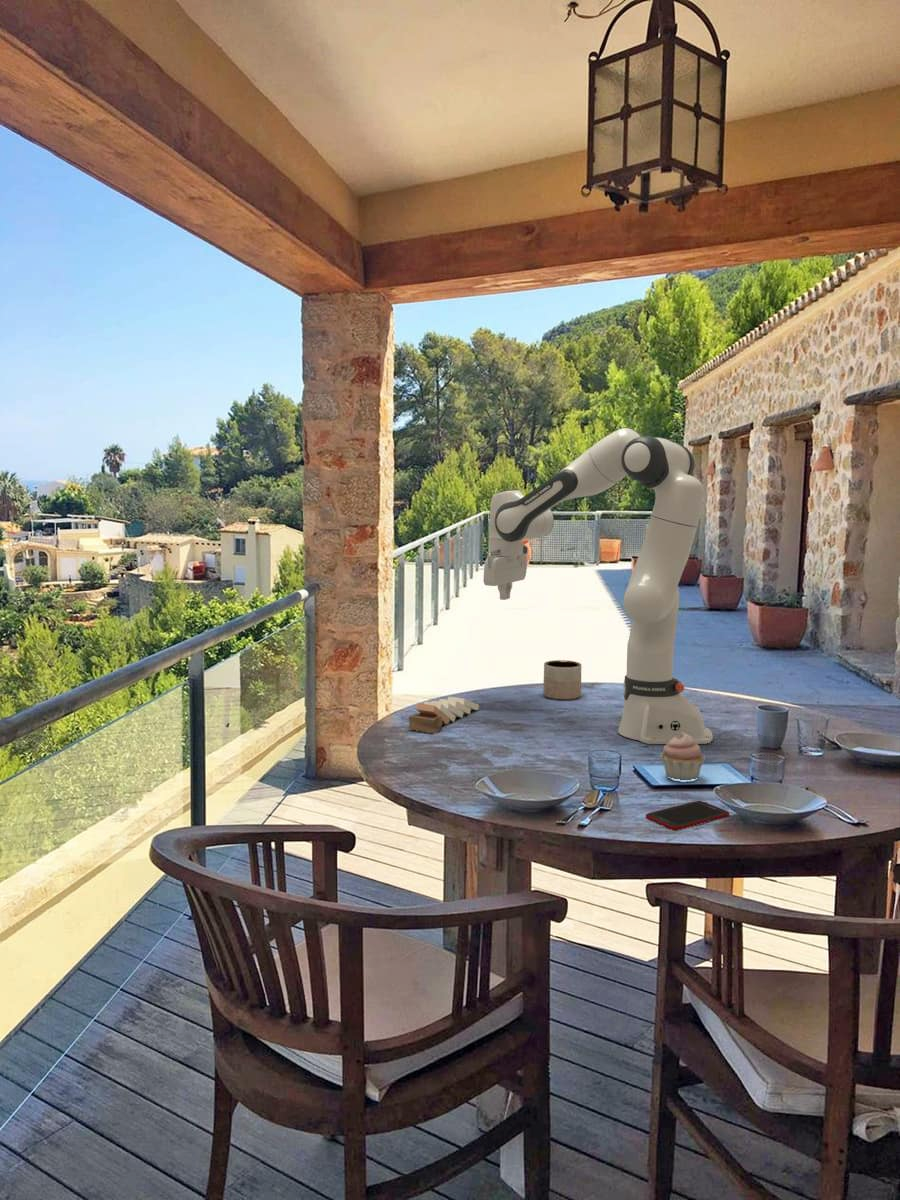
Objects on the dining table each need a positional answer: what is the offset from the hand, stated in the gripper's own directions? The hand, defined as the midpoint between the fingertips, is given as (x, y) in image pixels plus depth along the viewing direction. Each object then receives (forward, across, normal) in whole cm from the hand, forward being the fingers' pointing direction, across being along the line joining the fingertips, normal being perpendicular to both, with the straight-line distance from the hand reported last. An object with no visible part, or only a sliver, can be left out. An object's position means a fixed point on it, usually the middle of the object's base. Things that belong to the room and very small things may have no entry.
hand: (504, 599), depth 248 cm
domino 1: (+28, -28, +4) cm, 40 cm away
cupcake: (+29, -41, -61) cm, 79 cm away
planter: (+29, +15, -12) cm, 35 cm away
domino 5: (+28, -12, +4) cm, 31 cm away
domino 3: (+28, -21, +4) cm, 35 cm away
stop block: (+29, -36, +4) cm, 46 cm away
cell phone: (+30, -62, -67) cm, 96 cm away
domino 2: (+28, -25, +4) cm, 38 cm away
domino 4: (+28, -16, +4) cm, 33 cm away
